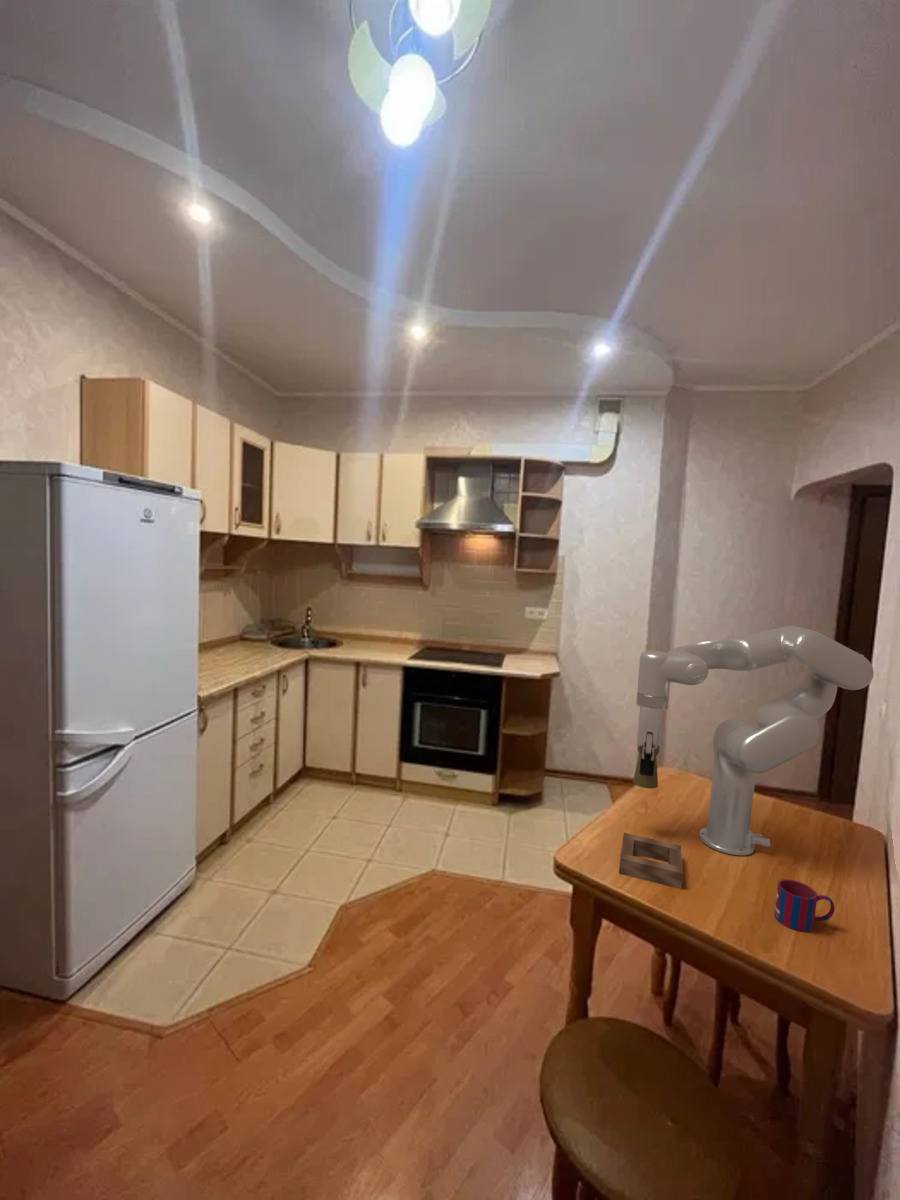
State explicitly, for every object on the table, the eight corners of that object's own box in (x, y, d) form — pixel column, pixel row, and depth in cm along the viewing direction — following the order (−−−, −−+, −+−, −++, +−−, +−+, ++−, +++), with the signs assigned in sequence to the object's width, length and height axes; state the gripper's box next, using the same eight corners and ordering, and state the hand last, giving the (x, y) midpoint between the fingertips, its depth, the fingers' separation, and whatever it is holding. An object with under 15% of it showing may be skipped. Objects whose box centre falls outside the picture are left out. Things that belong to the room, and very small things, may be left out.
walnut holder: (679, 859, 134) (680, 845, 133) (681, 888, 122) (682, 873, 121) (622, 846, 138) (623, 832, 138) (618, 873, 126) (620, 858, 126)
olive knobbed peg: (659, 789, 139) (663, 746, 138) (634, 786, 140) (637, 743, 140) (656, 780, 145) (659, 738, 144) (631, 777, 146) (635, 736, 145)
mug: (771, 906, 117) (775, 875, 117) (827, 921, 114) (832, 889, 113) (777, 925, 111) (781, 893, 111) (836, 941, 108) (841, 907, 107)
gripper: (637, 691, 150) (632, 758, 152) (635, 706, 134) (629, 780, 136) (668, 695, 148) (662, 763, 149) (669, 711, 132) (662, 786, 133)
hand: (646, 770), depth 143 cm, fingers closed on olive knobbed peg, 4 cm apart
